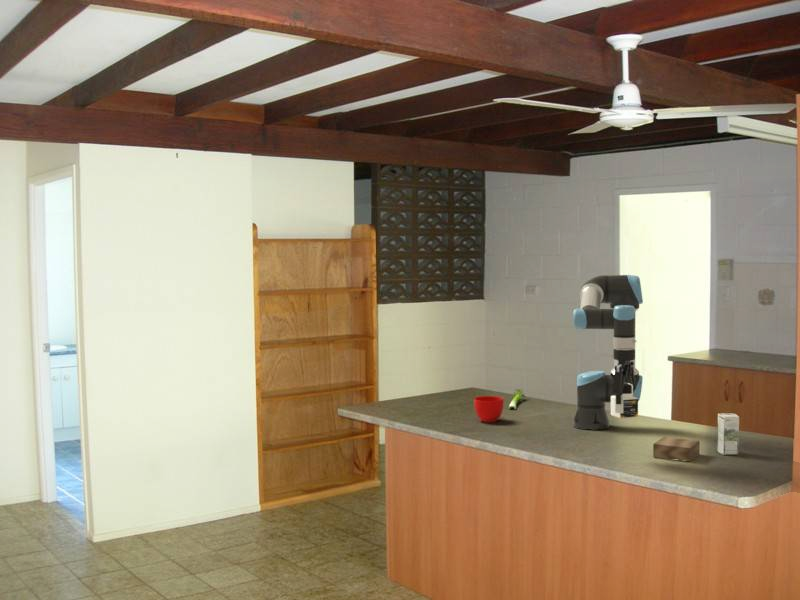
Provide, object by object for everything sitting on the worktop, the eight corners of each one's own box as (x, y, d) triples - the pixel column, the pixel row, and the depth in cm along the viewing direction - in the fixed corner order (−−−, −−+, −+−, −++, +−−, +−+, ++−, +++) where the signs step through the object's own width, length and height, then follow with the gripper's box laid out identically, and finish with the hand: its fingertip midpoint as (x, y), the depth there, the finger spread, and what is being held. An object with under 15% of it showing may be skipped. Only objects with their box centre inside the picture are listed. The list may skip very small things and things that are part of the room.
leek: (504, 414, 402) (512, 397, 431) (519, 416, 401) (526, 400, 429) (506, 401, 401) (514, 386, 430) (520, 404, 400) (528, 388, 428)
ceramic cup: (503, 416, 386) (503, 394, 386) (504, 424, 370) (503, 401, 369) (474, 416, 388) (474, 394, 387) (474, 424, 371) (473, 401, 370)
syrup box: (732, 451, 315) (732, 412, 314) (739, 455, 309) (739, 415, 308) (716, 451, 315) (717, 412, 314) (723, 455, 309) (723, 416, 308)
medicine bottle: (620, 419, 302) (620, 385, 301) (610, 415, 309) (610, 382, 308) (638, 417, 304) (638, 384, 303) (627, 413, 311) (627, 381, 310)
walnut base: (653, 457, 308) (653, 443, 307) (663, 450, 319) (663, 436, 318) (689, 462, 301) (690, 448, 300) (699, 454, 311) (699, 440, 311)
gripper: (624, 353, 293) (624, 417, 295) (644, 345, 312) (644, 405, 313) (603, 351, 297) (603, 414, 299) (624, 344, 316) (624, 403, 318)
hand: (624, 410), depth 306 cm, fingers closed on medicine bottle, 10 cm apart
